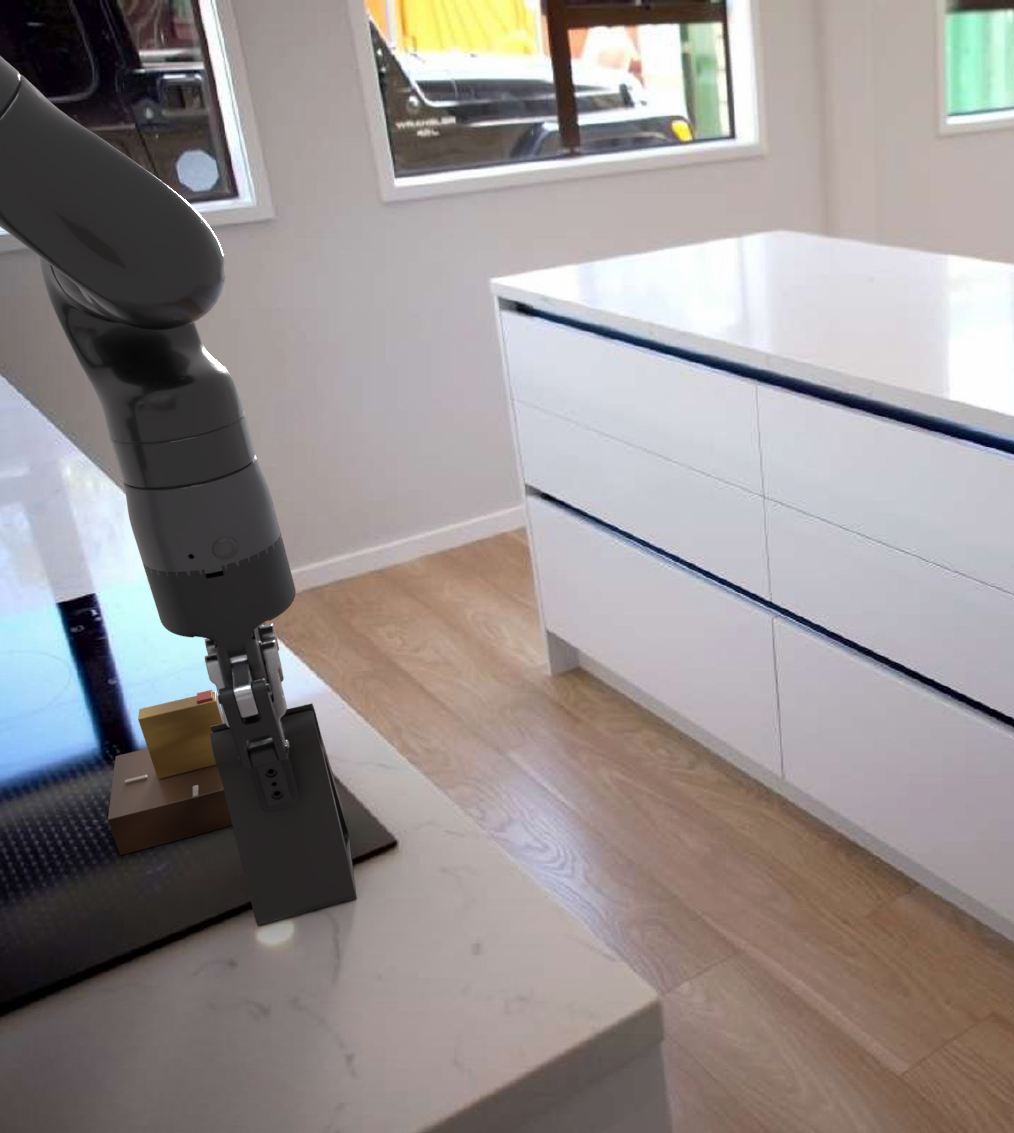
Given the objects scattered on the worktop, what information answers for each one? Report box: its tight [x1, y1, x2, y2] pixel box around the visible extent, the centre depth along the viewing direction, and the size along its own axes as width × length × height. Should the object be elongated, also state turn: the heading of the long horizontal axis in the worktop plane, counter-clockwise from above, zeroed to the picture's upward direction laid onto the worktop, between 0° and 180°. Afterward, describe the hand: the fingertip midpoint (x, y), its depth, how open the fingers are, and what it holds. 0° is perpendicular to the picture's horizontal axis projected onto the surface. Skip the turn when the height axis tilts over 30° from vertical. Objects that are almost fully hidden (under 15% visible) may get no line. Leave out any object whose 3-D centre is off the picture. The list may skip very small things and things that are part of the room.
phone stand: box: [210, 702, 358, 926], centre depth 83 cm, size 9×6×12 cm, turn 23°
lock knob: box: [137, 689, 225, 779], centre depth 92 cm, size 5×2×5 cm, turn 115°
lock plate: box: [107, 747, 233, 856], centre depth 94 cm, size 11×9×3 cm
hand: (279, 781), depth 83 cm, fingers open, 5 cm apart
